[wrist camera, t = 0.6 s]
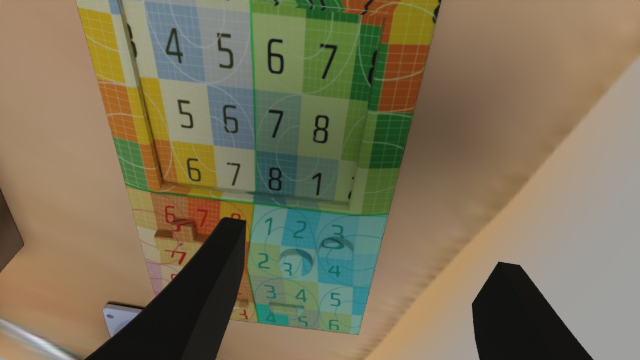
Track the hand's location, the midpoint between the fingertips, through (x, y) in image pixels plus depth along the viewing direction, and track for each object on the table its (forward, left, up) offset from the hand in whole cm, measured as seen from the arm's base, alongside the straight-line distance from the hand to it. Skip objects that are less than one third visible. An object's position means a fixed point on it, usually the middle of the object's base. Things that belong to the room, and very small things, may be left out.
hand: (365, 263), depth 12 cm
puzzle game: (-3, +4, -10) cm, 11 cm away
